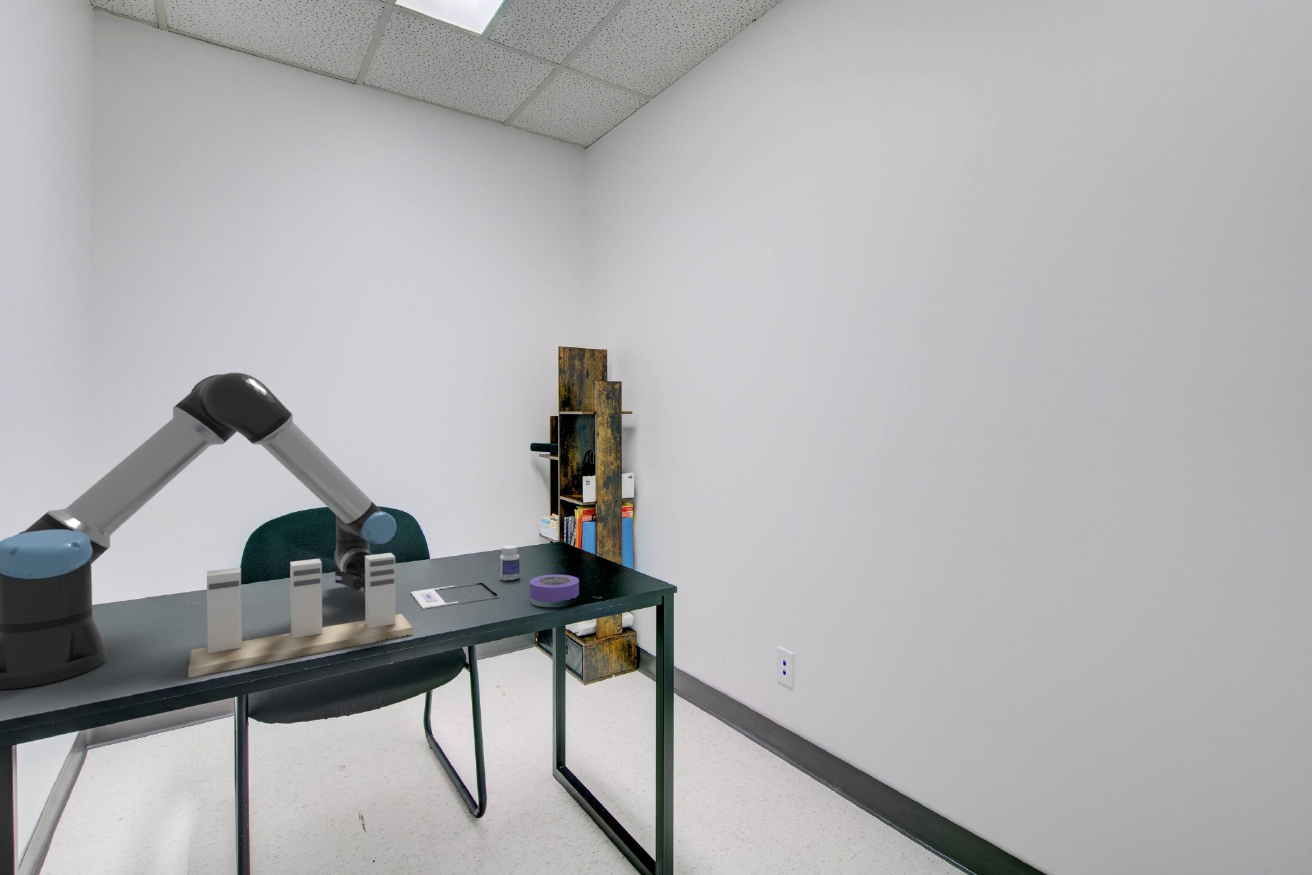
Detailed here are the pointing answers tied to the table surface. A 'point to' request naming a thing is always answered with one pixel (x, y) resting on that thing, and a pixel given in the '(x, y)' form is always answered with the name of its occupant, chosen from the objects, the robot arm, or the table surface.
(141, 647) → the table surface
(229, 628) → the tile
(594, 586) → the table surface
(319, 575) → the white tall block
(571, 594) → the tape roll
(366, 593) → the tile
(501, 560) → the pill bottle
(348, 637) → the key base
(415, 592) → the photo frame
